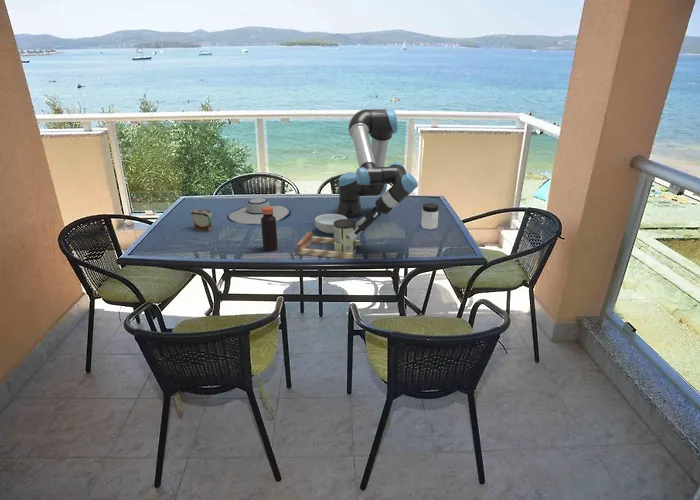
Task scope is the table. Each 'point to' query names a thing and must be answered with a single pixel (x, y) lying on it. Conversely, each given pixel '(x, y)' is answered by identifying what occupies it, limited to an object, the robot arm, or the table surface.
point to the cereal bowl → (327, 222)
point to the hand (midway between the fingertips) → (353, 232)
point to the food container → (202, 219)
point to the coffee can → (344, 235)
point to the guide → (307, 241)
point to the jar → (430, 216)
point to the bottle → (269, 229)
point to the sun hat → (257, 212)
